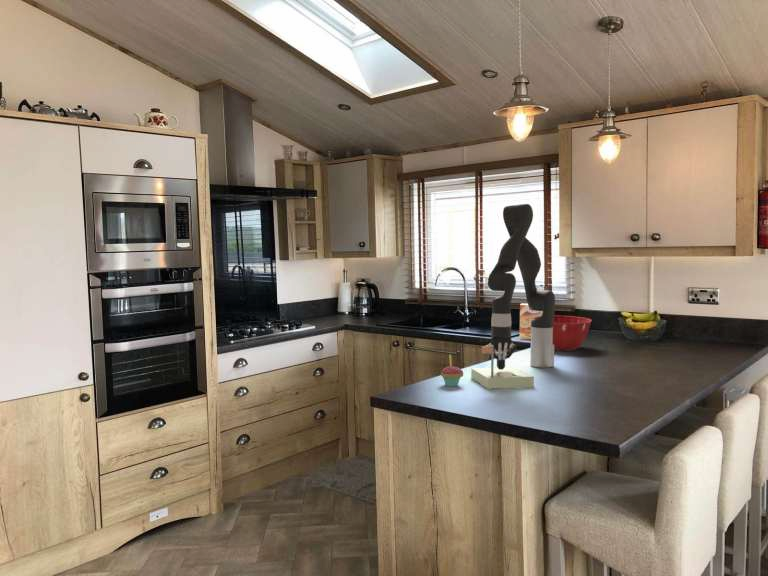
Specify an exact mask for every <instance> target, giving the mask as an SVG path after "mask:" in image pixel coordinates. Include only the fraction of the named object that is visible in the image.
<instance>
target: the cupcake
mask: <svg viewBox="0 0 768 576" xmlns="http://www.w3.org/2000/svg"><path fill="white" fill-rule="evenodd" d="M448 358H449V366H446V367H444V368H443V369H441V371H440V376H441V377H442V378H443V381H444V384H445V386H447V387H458V386H459V383H460V379H461V378H462V377H463V376H464V371H463V370H462V369H461V368H460V367H456V366H453V365H452V355H451V354H449V355H448Z"/></svg>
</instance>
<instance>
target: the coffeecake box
mask: <svg viewBox="0 0 768 576" xmlns="http://www.w3.org/2000/svg"><path fill="white" fill-rule="evenodd" d="M542 313H543V311H534V310H531V309H530V308H529V306H528V303H520V306H519V340H530V339H531V321H532V320H533V318H534V317H538V316H542Z"/></svg>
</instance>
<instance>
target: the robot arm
mask: <svg viewBox="0 0 768 576" xmlns="http://www.w3.org/2000/svg"><path fill="white" fill-rule="evenodd" d="M502 210H503V211H502V218H503V222H504V225H505V227H506V231H507V233H508V235H509V238H507V240H506V241H505V242H504V244H503V245H502V247H501V250H500V252H499V255H498V260H497V262H496V264H495V266H494V268H493V269H492V270H491V272H490V274H489V275H488V278H487V287H488V288H489V290H490V291H494V292H504V293H503V295H501V296H498V297H494V298H493V299H492V302H491V303H492V304H491V305H492V308H491V309H492V310H491V313H492V314H491V323H490V324H491V332H490V334H491V336H490V337H491V338H490V340H489V341H490V342H489V343H488V344H486V345H484V346H492V345H494V350H495V352H494V359H495V360H496V367H497V368H498V369H499V370H503V369H504V368H505V367H506V360H508V359H510V357H511V356H512V355H513V354H514V352H515V351H516V350H517V349H518V345H517V344H514V342H513V339H512V324H513V323H512V315H511V313H512V312H511V311H512V310H511V308H512V300H513V295H514V292H515V288H516V285H517V279H516V276H515V275H514V274H513V273H510V272H513V271H515V268H516V265H518V268H519V271H520V274H521V278H522V283H523V285H524V292H525V298H526V302H527V303H526V304H528V306H529V308H530V309H531V310H534V311H543V313H542V316H541V317H539V318H536V319H533V320H532V321H531V340H530V358H529V359H530V363H529V365H530V366H531V367H532V368H533V367H534V368H543V369H544V368H545V369H546V368H551V367H553V368H554V367H555V350H554V345H553V344H552V341H553V321H554V316H555V307H556V295H555V293H554V292H553V290H548V289H547V290H546V289H538V288H537V286H536V279H537V276H538V275H539V273H540V270H541V266H542V262H541V258H540V254H539V251H538V249H537V247H536V246H535V245H534V244H533V243H532V241H531V240H529V239H528V238H527V237H526V236H527V234H528V232H529V230H530V227H531V225H532V222H533V220H534V219H533V218H534V211H533V208H532V206H531V205H530V204H529V203H516V204H514V203H513V204H509V205H508V204H507V205H505V206H504V207H503V209H502ZM489 355H490V356H491V353H489Z"/></svg>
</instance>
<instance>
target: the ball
mask: <svg viewBox="0 0 768 576" xmlns="http://www.w3.org/2000/svg"><path fill="white" fill-rule="evenodd" d="M500 376H502V377H512V374H511V373H510V372H507V371H504V372H502V373H501V374H500Z"/></svg>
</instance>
